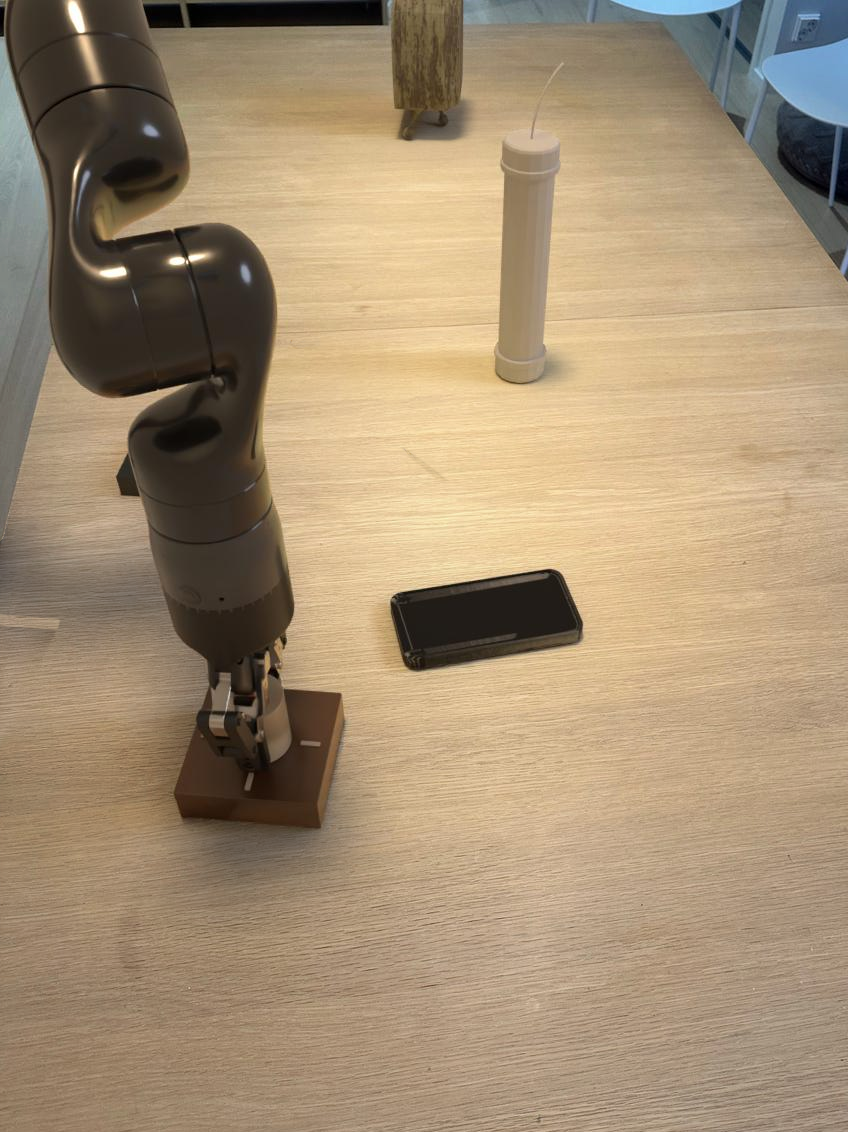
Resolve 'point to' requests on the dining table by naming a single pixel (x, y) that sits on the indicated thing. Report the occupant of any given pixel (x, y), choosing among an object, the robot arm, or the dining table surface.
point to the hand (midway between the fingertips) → (262, 736)
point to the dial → (275, 720)
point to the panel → (289, 782)
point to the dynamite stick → (525, 249)
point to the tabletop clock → (426, 56)
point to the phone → (484, 618)
